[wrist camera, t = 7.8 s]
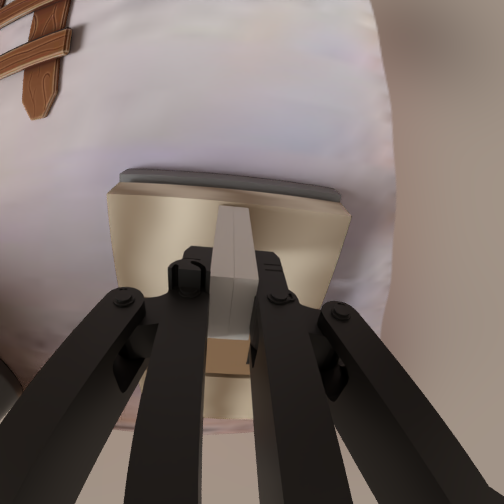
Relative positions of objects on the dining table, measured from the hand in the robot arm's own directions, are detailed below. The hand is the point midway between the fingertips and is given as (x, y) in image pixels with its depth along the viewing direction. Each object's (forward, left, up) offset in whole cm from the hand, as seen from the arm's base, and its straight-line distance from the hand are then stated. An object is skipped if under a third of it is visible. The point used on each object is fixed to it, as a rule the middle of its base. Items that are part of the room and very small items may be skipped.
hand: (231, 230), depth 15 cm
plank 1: (0, -2, -2) cm, 3 cm away
